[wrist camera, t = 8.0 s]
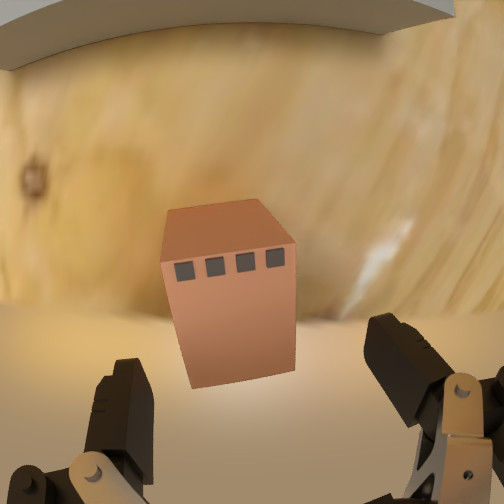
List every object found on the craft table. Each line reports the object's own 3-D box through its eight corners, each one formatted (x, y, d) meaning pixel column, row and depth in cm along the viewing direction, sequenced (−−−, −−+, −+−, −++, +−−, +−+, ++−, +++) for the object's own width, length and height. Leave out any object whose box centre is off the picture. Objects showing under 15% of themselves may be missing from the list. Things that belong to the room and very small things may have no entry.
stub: (257, 199, 16) (297, 244, 10) (263, 299, 18) (296, 372, 13) (168, 210, 15) (159, 264, 10) (186, 311, 18) (192, 391, 12)
